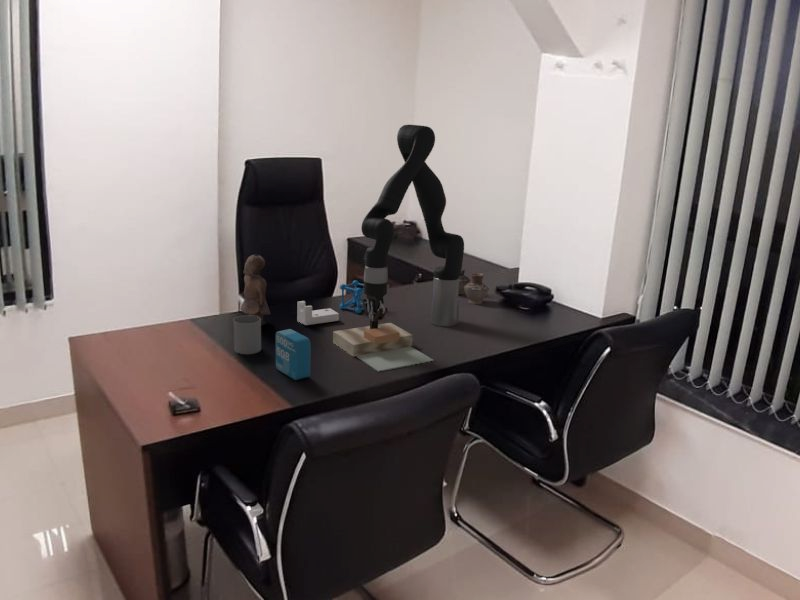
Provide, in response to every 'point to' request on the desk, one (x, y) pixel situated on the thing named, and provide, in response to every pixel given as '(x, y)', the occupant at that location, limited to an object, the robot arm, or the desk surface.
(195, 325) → the desk surface
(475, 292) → the pottery
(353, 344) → the light wood flat block
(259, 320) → the cup
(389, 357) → the mat
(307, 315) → the bracket
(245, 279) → the clay figurine
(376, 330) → the tile
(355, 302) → the molecular structure
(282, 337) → the data package
